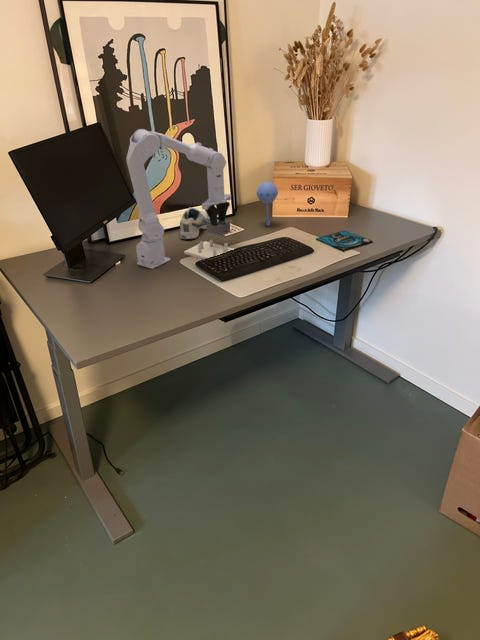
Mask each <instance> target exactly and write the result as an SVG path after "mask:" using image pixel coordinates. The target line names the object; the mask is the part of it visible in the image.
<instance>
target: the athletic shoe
mask: <svg viewBox="0 0 480 640" xmlns="http://www.w3.org/2000/svg"><path fill="white" fill-rule="evenodd" d="M207 220H209V216H208V214H207V213H206V211H205V210H199V209H198V208H196V207H191V206H189V207H188V210H186V211H184V213H183V214H182V217H181V219H180V222H179V227H180V231H179V233H180V240H189V241H190V240H196V239H198V238H199V235H200V231H204V230H207V224H206V221H207Z"/></svg>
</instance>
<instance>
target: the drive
mask: <svg viewBox="0 0 480 640" xmlns="http://www.w3.org/2000/svg"><path fill="white" fill-rule="evenodd" d="M206 224H207V228H206V232H210V233H213V234H217V235H221V236H225V235H227V234H230V233H231V221H229V220H226V219H225V220H220V219H218V218H217V226H213V225H211V222H210V219H209V220H207V221H206Z"/></svg>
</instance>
